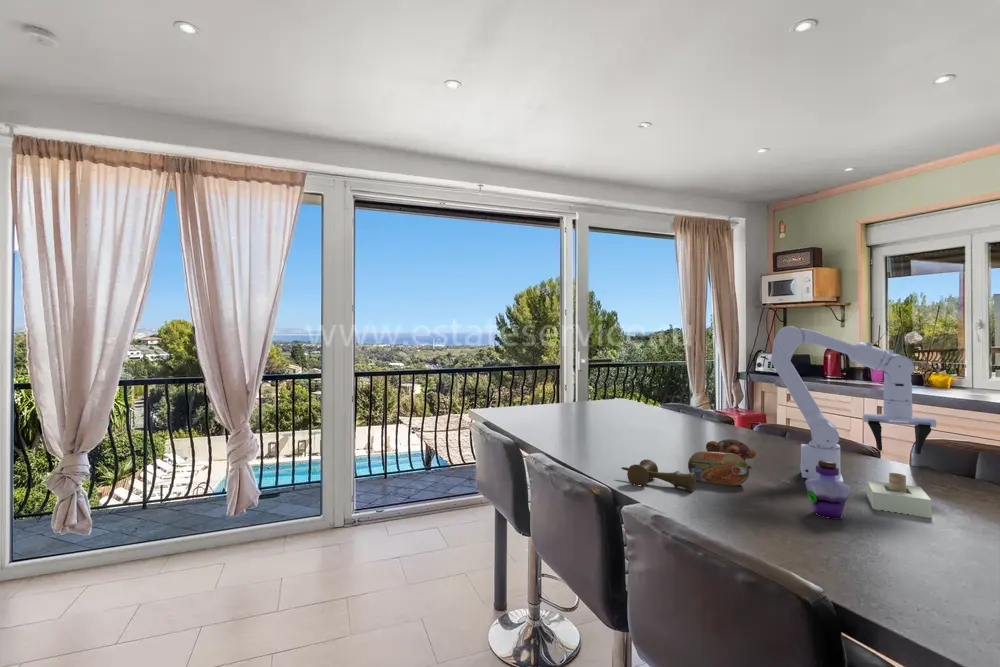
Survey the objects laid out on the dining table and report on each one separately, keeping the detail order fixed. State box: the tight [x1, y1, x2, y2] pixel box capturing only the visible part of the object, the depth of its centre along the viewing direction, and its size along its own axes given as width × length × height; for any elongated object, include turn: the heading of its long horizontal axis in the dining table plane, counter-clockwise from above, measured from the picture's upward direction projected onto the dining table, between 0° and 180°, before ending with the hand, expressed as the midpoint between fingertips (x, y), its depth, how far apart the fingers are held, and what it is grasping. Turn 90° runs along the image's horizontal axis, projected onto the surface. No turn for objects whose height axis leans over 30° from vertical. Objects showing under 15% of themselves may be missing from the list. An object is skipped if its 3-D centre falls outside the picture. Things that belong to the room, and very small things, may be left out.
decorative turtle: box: [705, 439, 757, 462], centre depth 142 cm, size 10×15×8 cm, turn 96°
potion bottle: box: [804, 460, 852, 518], centre depth 103 cm, size 9×9×12 cm
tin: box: [687, 450, 750, 486], centre depth 126 cm, size 15×3×8 cm, turn 64°
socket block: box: [866, 479, 933, 519], centre depth 107 cm, size 10×10×4 cm
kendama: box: [620, 459, 697, 493], centre depth 125 cm, size 6×10×20 cm
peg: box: [888, 472, 907, 493], centre depth 107 cm, size 3×3×7 cm
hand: (898, 451), depth 121 cm, fingers open, 7 cm apart
